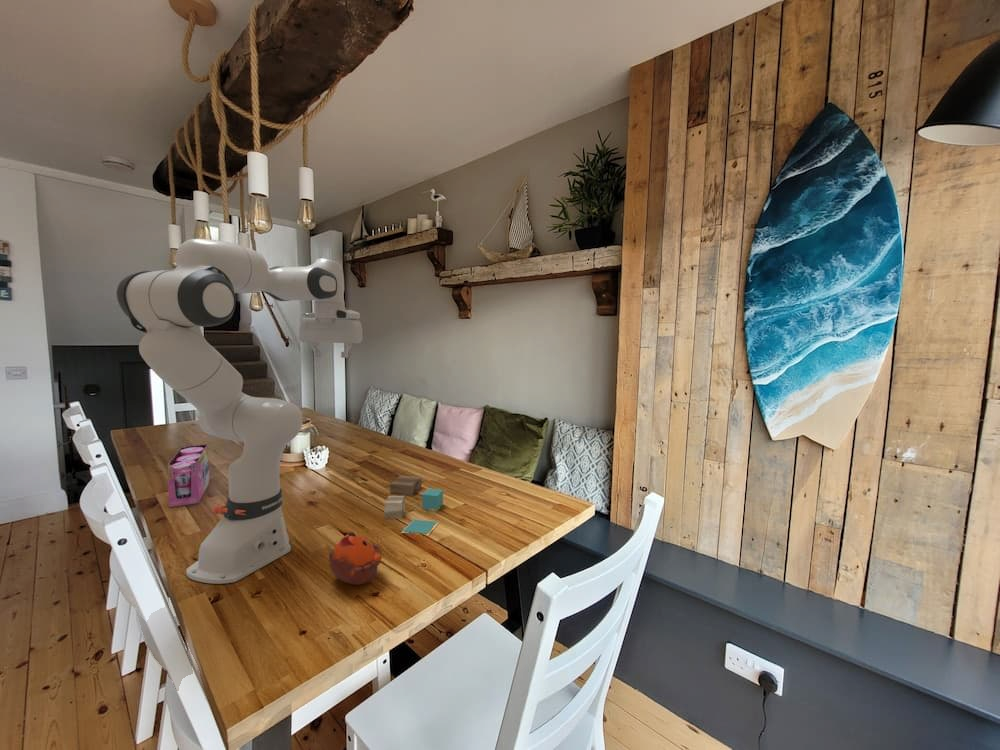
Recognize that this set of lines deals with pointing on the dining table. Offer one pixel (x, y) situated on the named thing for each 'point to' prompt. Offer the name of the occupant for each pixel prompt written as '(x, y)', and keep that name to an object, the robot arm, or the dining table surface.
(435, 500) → the teal cube
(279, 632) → the dining table surface
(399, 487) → the walnut block
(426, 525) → the swatch tile
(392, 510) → the maple cube
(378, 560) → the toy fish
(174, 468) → the gum box
